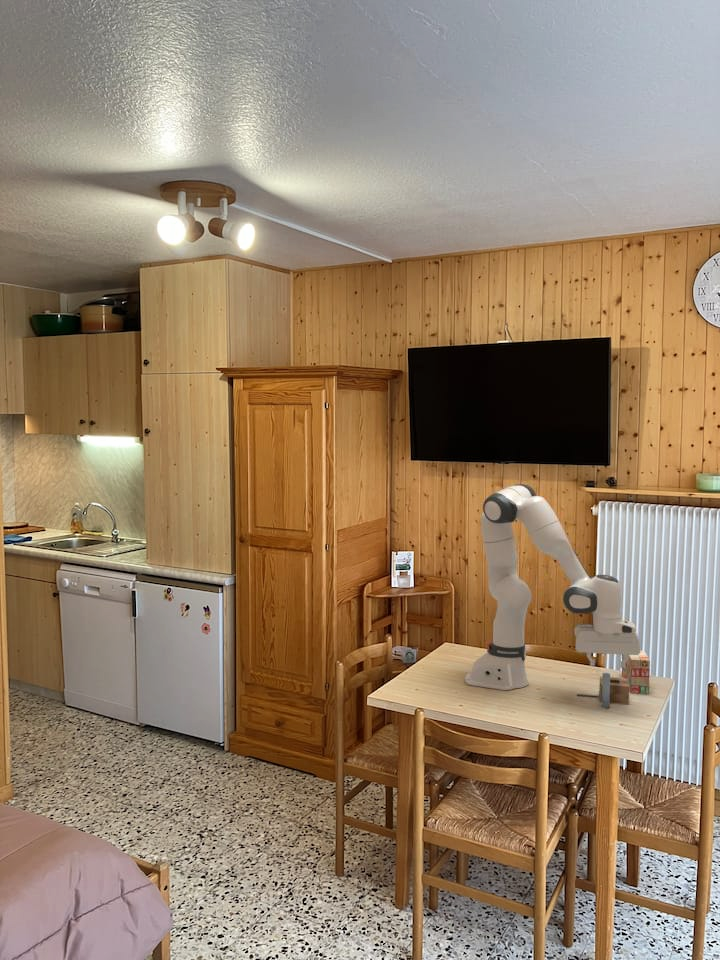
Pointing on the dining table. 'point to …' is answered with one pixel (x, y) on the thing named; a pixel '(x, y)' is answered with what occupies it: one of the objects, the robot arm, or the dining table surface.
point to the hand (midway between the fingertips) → (607, 666)
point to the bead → (617, 690)
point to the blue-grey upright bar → (606, 690)
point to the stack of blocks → (637, 673)
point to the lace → (587, 695)
